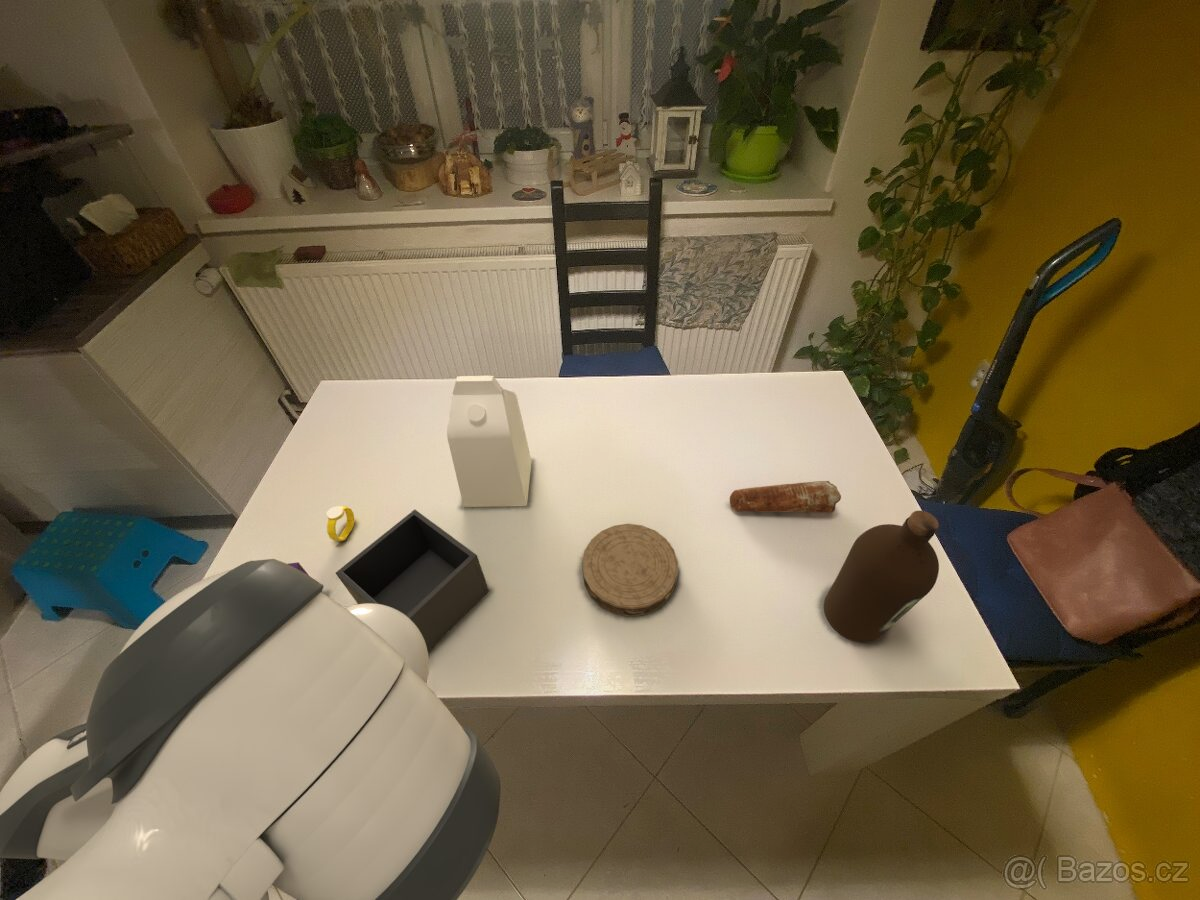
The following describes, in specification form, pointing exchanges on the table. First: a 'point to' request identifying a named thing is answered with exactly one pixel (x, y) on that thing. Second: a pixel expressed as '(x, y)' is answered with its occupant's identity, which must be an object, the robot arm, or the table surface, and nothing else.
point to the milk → (488, 444)
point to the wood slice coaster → (629, 569)
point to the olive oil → (883, 578)
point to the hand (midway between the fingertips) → (232, 650)
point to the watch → (334, 515)
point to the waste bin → (418, 576)
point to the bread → (787, 498)
